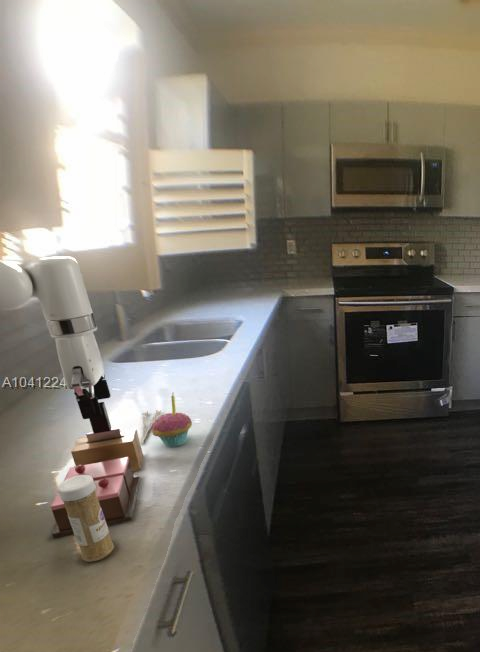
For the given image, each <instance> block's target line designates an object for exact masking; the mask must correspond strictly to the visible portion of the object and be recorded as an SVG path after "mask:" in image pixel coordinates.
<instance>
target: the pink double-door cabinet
mask: <svg viewBox="0 0 480 652" xmlns="http://www.w3.org/2000/svg"><path fill="white" fill-rule="evenodd" d="M78 475H89V476H91V477H92V478H93V480H94V483H95V492H96V495H97V498H98V501H99V504H100V507H101V509H102V512H103V515H104V518H105V521H106V524H107V527H108V526H112V525H113V526H114V525H117V524H122V523H125V522H130V521H132V520H133V516H134V511H135V507H136V503H137V499H138V498H137V497H138V493H139V489H140V485H141V481H142V478H141V476H134V471H133V472H132V469H131V465H130V461H129V458H128V457H125V458H120V459H115V460H109V461H104V462H98V463H93V464H88V465H78V466H76V465H75V466H72V467H70V468H69V469H68V471H67V473H66V475H65V477H64V479H63V481H65V480H67V479H69V478H71V477H74V476H78ZM50 509H51V512H52V515H53V517H54V520H55V523H56V524H55V527H54V529H53V531H52V532H51V536H52V538H53V539H55V538H59V537H64V536H69V535H74V532H73V529H72V527H71V524H70V521H69V518H68V514H67V511H66V508H65V505H64V502H63V500H61V498H60V495H59V492H58V491H57V493H56V495H55V497H54V499H53V501H52V503H51V505H50Z"/></svg>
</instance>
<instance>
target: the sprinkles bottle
mask: <svg viewBox="0 0 480 652" xmlns="http://www.w3.org/2000/svg"><path fill="white" fill-rule="evenodd" d="M58 492H59V495H60V498H61V500H63V502H64V505H65V508H66V511H67V514H68V518H69V521H70V524H71V527H72V529H73V532H74V533H73V535H74V537H75V540H76V543H77V544H78V546H79V550H80V553H81V558H82V560H83V561H84V562H89V563H91V562H97V561H101V560H102V559H105V558H106V557H108V556H109V555H110V554H111V553H112V551H113V550H114V548H115V545H114V543H113V542H112V541H113V540H112V538H111V535H110V532H109V527H108V526H107V524H106V521H105V518H104V515H103V512H102V509H101V507H100V504H99V501H98V498H97V495H96V492H95V483H94V480H93V478H92V477H91V476H89V475H78V476H74V477H71V478H69V479H67V480H65V481H64V480H63V481H61V483H60V484H59V485H58V486H57V493H58Z"/></svg>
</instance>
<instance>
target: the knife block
mask: <svg viewBox="0 0 480 652" xmlns="http://www.w3.org/2000/svg"><path fill="white" fill-rule="evenodd" d="M120 433H121V437H122V438H117V439H112V440H106V441H100V442H94V443H89V442H88V439H87V436H83V437H78V438H77V439H76V441H75V444H74V446H73V447H72V449H71V451H70V453H71V456H72V460H73V462H74V465H75V467H76V466H78V465H88V464H93V463H98V462H104V461H109V460H115V459H120V458H125V457H128V458H129V461H130V465H131V469H132V472H133V473H134V472H138V471H141V469H142V465H143V461H144V453H143V449H142V443H141V441H140V437H139V433H138V430H137V428H131V429H124V430H120Z"/></svg>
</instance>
